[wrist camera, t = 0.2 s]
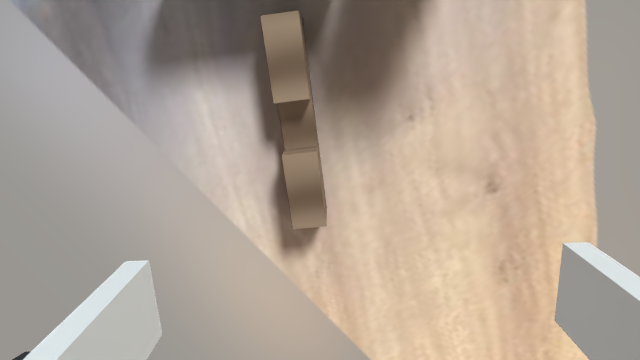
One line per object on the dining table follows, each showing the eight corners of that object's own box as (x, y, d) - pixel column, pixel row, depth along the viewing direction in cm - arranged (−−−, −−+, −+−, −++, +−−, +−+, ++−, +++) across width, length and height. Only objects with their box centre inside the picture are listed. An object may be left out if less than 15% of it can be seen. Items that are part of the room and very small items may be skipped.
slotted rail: (269, 22, 37) (260, 15, 32) (302, 17, 36) (298, 10, 32) (297, 210, 41) (292, 229, 37) (326, 207, 41) (326, 226, 36)
